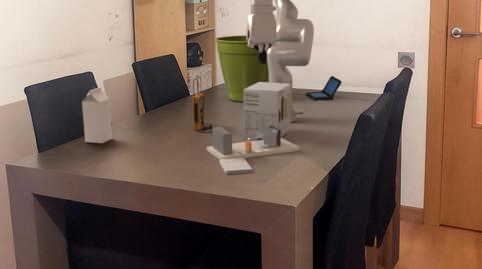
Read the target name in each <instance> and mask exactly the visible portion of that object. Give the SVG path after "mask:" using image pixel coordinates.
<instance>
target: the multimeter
mask: <svg viewBox="0 0 482 269" xmlns="http://www.w3.org/2000/svg"><path fill="white" fill-rule="evenodd" d="M198 78H199V79H198ZM199 80H202V77H200V76H196V78H193V81H192V82H193V83H192V85H193V87H192V89H193V93H195V87H194V84H195V81H196V85H197V86H196V94H193V95H192V102H191V103H192V125H193V130H194V131H196V132H197V133H199V134H200V133H201V134H203V133H208V132H212V128H213V127H214V126H212V124H211V123H208V125H209V126H208V128H211V129H208V130H205V131H201V130H202V129H203V128H204V127H205V126H206V125H207V123H206V121H205V120H206V117H205V116H206V115H205V114H206V113H205V94H204V93H202V91H200V86H199Z"/></svg>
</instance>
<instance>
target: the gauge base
mask: <svg viewBox="0 0 482 269" xmlns="http://www.w3.org/2000/svg"><path fill="white" fill-rule="evenodd" d="M212 127H213V128H211V132H212V145H211V146H206V151H207V152H208V153H210V154H211V155H212V156H214V157H215V158H217V159H218V160H219V161H220V160H221V159H237V158H244V159H246V158H247V159H248V158H253V157H261V156H270V155H276V154H277V155H278V154H287V153H291V152H293V153H294V152H299V151H300V149H301V148H300V146H298V145H297V144H294V143H292V142H290V141H288V140H286V139H285V138H283V137H281V146H271V147H270V148H267V147H262V146H260V145H259V144H257V143H256V141H253V142H251V143H252V152H248V151H246V150H245V141H244V142H235V143H233V133H232V132H230V131H229V130H228V129H226V128H224V127H222V126H212Z"/></svg>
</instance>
